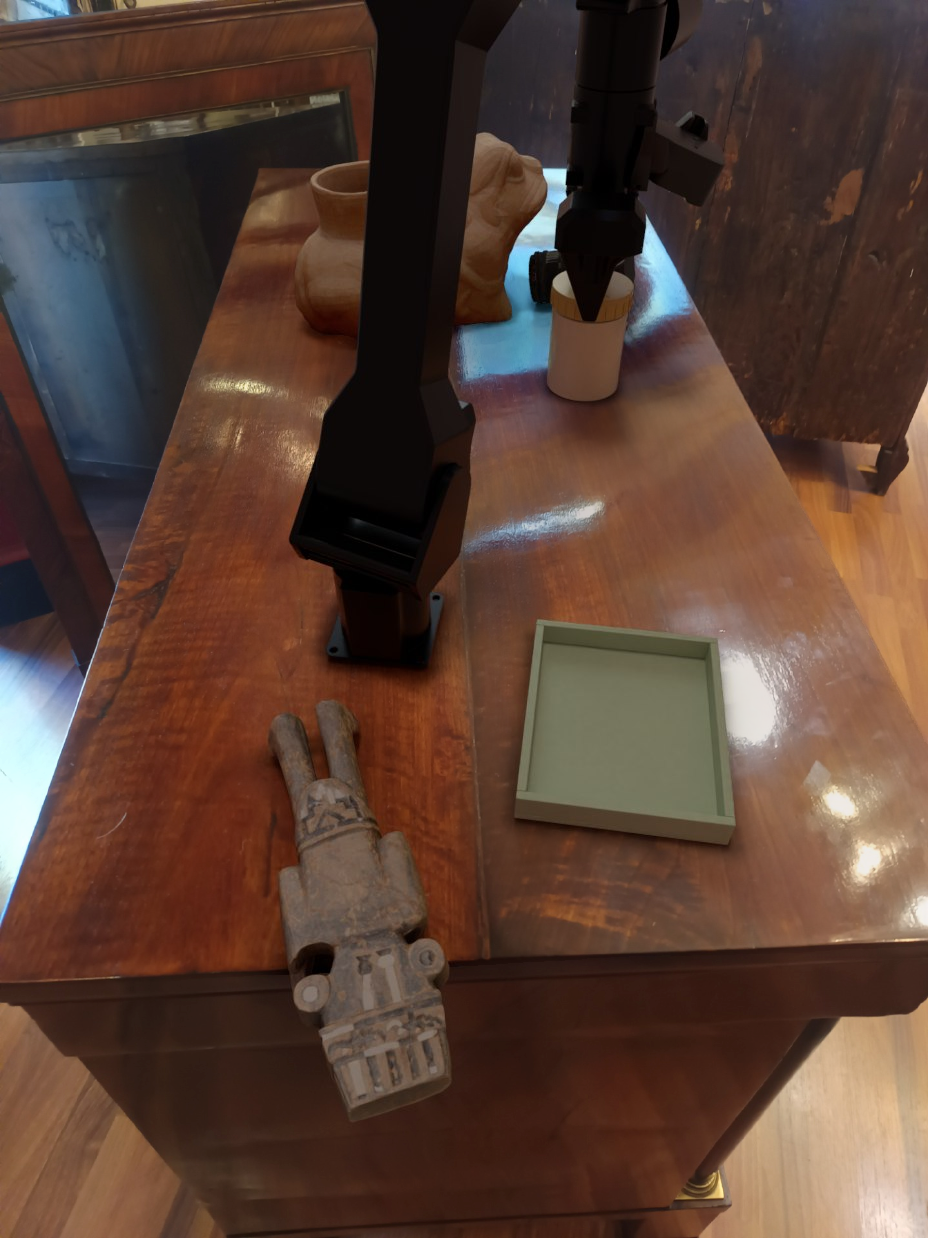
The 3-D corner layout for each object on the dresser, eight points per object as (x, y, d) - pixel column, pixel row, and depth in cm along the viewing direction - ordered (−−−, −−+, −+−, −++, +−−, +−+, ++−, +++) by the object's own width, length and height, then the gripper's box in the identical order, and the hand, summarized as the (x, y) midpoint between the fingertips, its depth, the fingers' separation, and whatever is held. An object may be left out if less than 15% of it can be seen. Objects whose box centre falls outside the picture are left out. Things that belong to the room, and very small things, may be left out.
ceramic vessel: (566, 314, 84) (581, 152, 74) (317, 361, 77) (294, 190, 67) (511, 263, 93) (517, 112, 83) (284, 301, 86) (258, 142, 76)
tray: (727, 845, 42) (736, 826, 41) (514, 818, 43) (515, 798, 42) (711, 658, 51) (718, 637, 50) (534, 639, 52) (536, 618, 51)
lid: (631, 324, 67) (634, 304, 65) (547, 319, 67) (548, 299, 66) (631, 289, 71) (634, 269, 70) (553, 284, 72) (554, 264, 71)
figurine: (255, 775, 47) (325, 1163, 33) (233, 718, 43) (300, 1127, 29) (373, 739, 48) (487, 1099, 34) (360, 682, 45) (482, 1058, 31)
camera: (548, 280, 93) (537, 186, 86) (645, 270, 90) (641, 171, 83) (528, 340, 83) (514, 238, 76) (637, 331, 80) (632, 224, 73)
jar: (616, 404, 72) (630, 309, 66) (544, 398, 73) (551, 304, 67) (617, 368, 76) (631, 276, 70) (549, 363, 77) (556, 271, 71)
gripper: (744, 124, 51) (694, 359, 62) (721, 56, 64) (683, 260, 75) (563, 117, 52) (545, 349, 63) (577, 51, 65) (561, 253, 76)
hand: (590, 299), depth 69 cm, fingers open, 8 cm apart
